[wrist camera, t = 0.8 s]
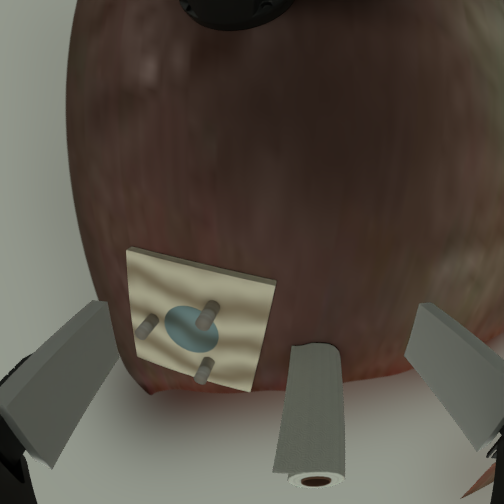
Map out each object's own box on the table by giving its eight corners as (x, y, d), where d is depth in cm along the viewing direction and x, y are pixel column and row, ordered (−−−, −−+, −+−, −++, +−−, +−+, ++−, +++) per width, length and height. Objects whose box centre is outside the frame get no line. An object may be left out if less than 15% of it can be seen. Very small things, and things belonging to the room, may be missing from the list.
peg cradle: (131, 246, 38) (108, 261, 33) (276, 280, 36) (270, 304, 30) (140, 351, 47) (125, 371, 41) (251, 386, 44) (244, 411, 39)
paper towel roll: (345, 362, 39) (351, 484, 19) (310, 373, 41) (300, 492, 21) (328, 330, 37) (330, 466, 17) (291, 344, 39) (271, 474, 20)
